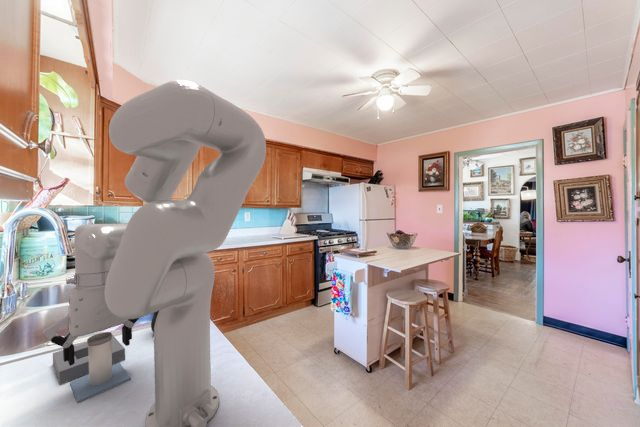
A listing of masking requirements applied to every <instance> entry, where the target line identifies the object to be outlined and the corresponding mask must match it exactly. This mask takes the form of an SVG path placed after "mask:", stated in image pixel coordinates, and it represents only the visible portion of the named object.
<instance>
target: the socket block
mask: <svg viewBox="0 0 640 427" xmlns="http://www.w3.org/2000/svg"><path fill="white" fill-rule="evenodd" d="M111 344H112V366H113V365H115V364H118V363H121V362H124V361H125V360H126V348H125V347H124V345H123V344H121V342H120V341H119V340H118V339H117V338H116V337H115V336H114V334H112V339H111ZM74 359H75V364H73V365H71V366H70V365H69V363H68V361H66V362H64V359H63V349H61V350H58V351H55V352H52V365H53V369H54V372H55V375H56V378H57V381H58V384H59V386H60V385H64V384H66V383H70V382H72V381H74V380H77V379H79V378H82V377H85V376H87V375H89V360H88V345H87V342H83V343H81V344H77V345H74Z"/></svg>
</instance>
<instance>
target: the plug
mask: <svg viewBox="0 0 640 427" xmlns="http://www.w3.org/2000/svg"><path fill="white" fill-rule="evenodd" d="M112 335H113V333H112V332H111V331H105V332H99V333H96V334H93V335H92V336H91V335H90V337H88V338H87V339H86V340H87V342H86V343H87V345H88V360H89V374H88V375H89V385H90V386H97V385H101V384H103V383H105V382H107V381H109V380H110V379H111V378H112V366H113V365H112V344H111V339H112Z"/></svg>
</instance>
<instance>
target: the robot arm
mask: <svg viewBox="0 0 640 427" xmlns="http://www.w3.org/2000/svg"><path fill="white" fill-rule="evenodd" d="M108 136H109V140H110V142H111V144H112V146H113V147H114V148H115V149H116V150H118V151H119V152H120V153H121V152H122V153H123V154H127V155H131V156H136V158H135V160H134V161H133V163H132V165H131V166H130V169H129V171H128V173H127V174H126V176H125V178H124V186H125V188H126V189H127V191H128V192H129V193H131V195H133V196H134V197H136V198H137V199H139V200H141V201H142V202H145V203H146V204H143V205H142V206H141V207H139V208H138V209H137V210H136V211H134V213H133V214H132V216H131V217H130V219H129V221H128V222H121V223H88V224H87V223H86V224H81V225H78V226H77V227H76V228H75V230H74V266H75V268H74V269H75V270H74V271H75V272H74V275H73V276H70V277H66V278H65V282H66V283H65V284H66V285H75V286H73V287H72V288H71V291H70V294H69V298H68V309H67V315H66V316H64V317H63V318H61V319H59V320H57V321H56V322H54V323H52V324H51V325H50V326H47V327H46V328H44V329H43V331H42V333H43V335H44V336H45V337H46V338H47V339H48V340H49V341H50V342H51V343H52V344H54V345H57V346H59V347H62V350H63V359H64V362H66V361H68V363H69V365H70V366H71V365H73V364H75V359H74V346H75V345H74V344H73V343H74V342H75V341H76V340H77V338H78V337H83V336H87V335H90V334H94V333H98V332H101V331H104V330H105V331H106V330H107V329H111V328H114V327H117V326H121V325H122V327H121V342H122V344H124V346H130V340H133V328H134V326H135V324H136V323H137V321H138V320H139V319H140V318H143V317H147V316H149V315H152V314H154V312H157V311H159V312H158V315H157V318H156V322H155V326H154V333H153V353H154V354H153V355H154V356H153V357H154V358H153V361H154V366H153V367H154V404H153V405H152V406H151V407H150V408H149V410H148V411H147V413H146V416H145V421H144V422H145V423H144V427H207V423H208V422H209V421H210V420H211V419H212V418H213V417H214V416H215V414H216V412H217V410H218V407H219V405H220V394H219V390H218V389H217V388H216V387H215V386H213V385H212V384H211V382H212V380H211V378H212V377H211V376H212V375H211V372H212V371H211V301H212V296H213V293H212V292H213V289H214V283H215V279H216V278H215V277H216V276H215V275H216V272H215V271H216V269H215V265H214V261H213V259H212V258H211V257H210V255H209V254H208V253H209V252H212V251H215V250H218V248H220V247H221V246H222V245H223V244H224V243H225V240H226V239H227V237H228V235H229V232H230V231H231V229H232V227H233V224H234V223H235V220H236V218H237V217H238V214H239V212H240V210H241V208H242V205H243V204H244V201H245V199H246V197H247V195H248V193H249V191H250V189H251V187H252V186H253V185H254V183H255V181H256V179H257V178H258V175H260V174H259V173H260V172H261V171H262V168H263V166H264V162H265V160H266V155H267V143H266V138H265V134H264V132H263V130H262V128H261V126H260V125H259V123H258V122H257V121H256V119H255V118H253V116H251V115H250V114H249V113H248V112H246V111H245V110H244V109H242V108H240V107H238V106H237V105H235V103H234V104H233V103H232V102H230V101H228V100H227V99H224V98H223V97H221V96H220V95H217V94H216V93H215V92H213V91H210V90H209V89H207V88H205V87H204V86H202V85H201V84H198V83H196V82H194V81H191V80H186V79H176V80H175V79H174V80H171V81H168V82H165V83H163V84H160V85H158V86H156V87H153V88H152V89H149V90H147V91H145V92H143V93H140V94H138V95H136V96H133V97H132V98H130V99H128V100H127V101H126V102H124V103H123V104H122V105H121V106H120V107H118V108H117V109H116V111H115V112H114V113H113V115H112V117H111V119H110V122H109V125H108ZM201 146H202V147H206V148H209V149H212V150H216V151H218V152H219V156H218V157H216V158H215V159H213V160H212V161H210V162H209V164H207V165H206V166H205V167H204V168H203V170H202V171H201V172H200V173H199V176H198V177H197V180H196V183H195V185H194V186H193V189H192V191H191V192H190V194H189V196H188V197H186V198H185V199H182V200H181V199H180V200H178V199H173V198H172V197H173V195H175V192H176V190H177V189H178V187H179V186H180V184H181V182H182V181H183V179H184V177H185V175H186V174H187V172H188V170H189V169H190V168H191V165H192V163H193V162H194V160H195V159H196V158H197V155H199V151H200V149H201ZM66 325H67V330H68V332H67V333H66V334H65V336H61V335H59V334H58V333H57V331H58V330H60V329H62V328H64V327H65V326H66Z"/></svg>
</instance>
